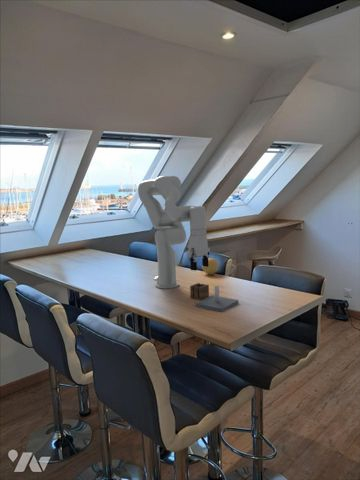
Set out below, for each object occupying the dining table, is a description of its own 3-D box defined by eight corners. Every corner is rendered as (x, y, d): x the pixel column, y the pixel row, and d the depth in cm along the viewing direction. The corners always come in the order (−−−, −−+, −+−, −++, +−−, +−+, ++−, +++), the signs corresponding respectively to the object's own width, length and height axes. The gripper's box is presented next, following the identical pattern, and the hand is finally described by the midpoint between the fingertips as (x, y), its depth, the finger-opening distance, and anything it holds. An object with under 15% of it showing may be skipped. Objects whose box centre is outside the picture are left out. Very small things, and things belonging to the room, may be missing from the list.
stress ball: (220, 276, 222) (220, 263, 228) (215, 266, 215) (216, 253, 221) (204, 278, 225) (204, 265, 231) (199, 268, 218) (200, 255, 224)
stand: (195, 306, 165) (194, 288, 164) (212, 298, 176) (212, 281, 175) (222, 312, 157) (221, 292, 156) (238, 303, 168) (238, 285, 167)
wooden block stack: (190, 298, 178) (190, 286, 177) (198, 294, 183) (197, 283, 182) (201, 300, 174) (201, 287, 173) (208, 296, 179) (208, 284, 178)
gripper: (202, 230, 183) (203, 264, 185) (180, 234, 169) (182, 271, 171) (214, 230, 178) (216, 265, 180) (194, 234, 165) (195, 272, 167)
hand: (199, 268), depth 176 cm, fingers open, 9 cm apart
